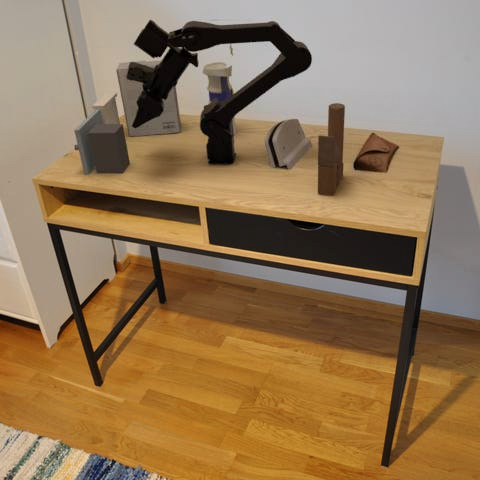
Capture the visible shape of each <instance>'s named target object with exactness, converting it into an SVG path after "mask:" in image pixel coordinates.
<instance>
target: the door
mask: <svg viewBox="0 0 480 480" xmlns="http://www.w3.org/2000/svg"><path fill="white" fill-rule="evenodd" d="M96 124H103V121H102V116H101V111H100V109H96V110H95V111H92V112H91V113H90V114H89V115H88V116H87V117H86V118H85V119H84V120H82V122H81V123H80V124H78V126H76V128H75V129H73V132H74V135H75V139H76V144H74V150H75V151H78V153H79V156H80V157H79V158H80V161H81V165H82V171H83V174H84V175H90V174H91V172H92V171H93V170H94V169H96V167H95V163H94V158H93V153H92V149H91V144H90V140H89V135H88V133H89V132H90V131H91V130H92V128H93V127H94V126H95V125H96Z"/></svg>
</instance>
